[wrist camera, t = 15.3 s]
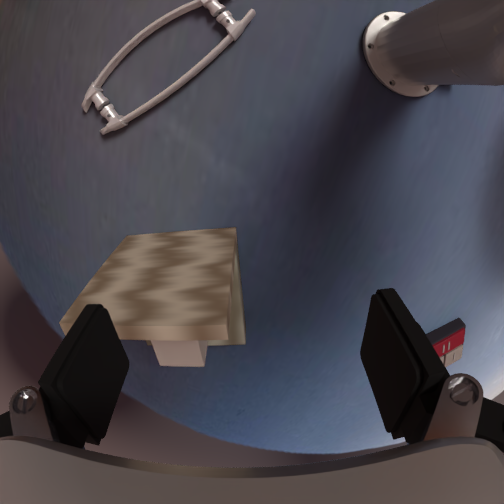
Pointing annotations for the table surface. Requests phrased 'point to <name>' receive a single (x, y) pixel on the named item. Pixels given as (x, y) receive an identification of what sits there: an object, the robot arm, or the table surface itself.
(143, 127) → the table surface
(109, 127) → the door handle
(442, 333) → the small patterned box
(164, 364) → the pale taupe block
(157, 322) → the beige zigzag bookend
